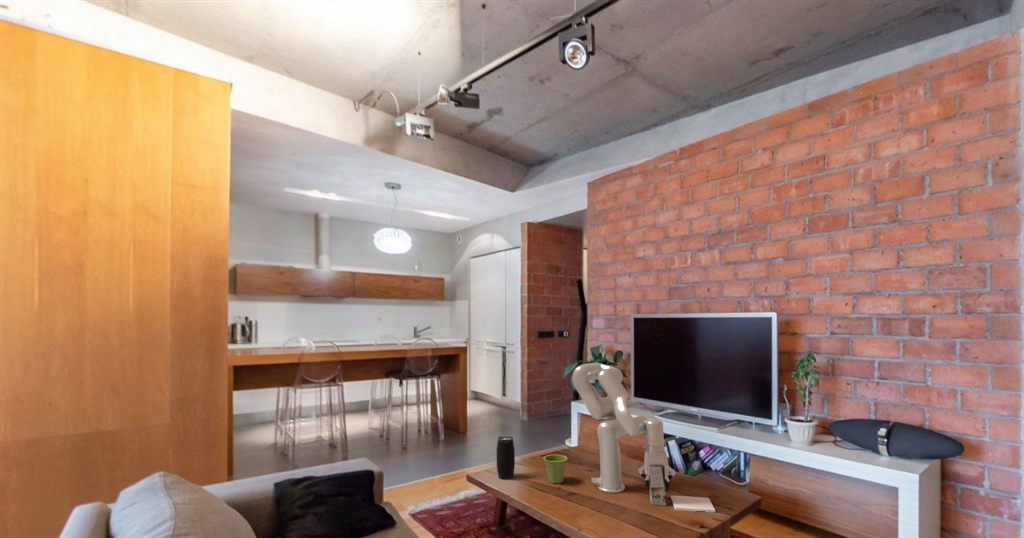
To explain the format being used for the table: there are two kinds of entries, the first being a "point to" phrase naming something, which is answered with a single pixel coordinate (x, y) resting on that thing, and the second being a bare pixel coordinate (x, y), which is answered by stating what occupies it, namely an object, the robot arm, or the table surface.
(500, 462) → the portable speaker
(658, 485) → the coffee box
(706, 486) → the table surface
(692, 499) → the rest mat
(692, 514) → the table surface
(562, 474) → the plant pot
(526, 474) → the table surface
